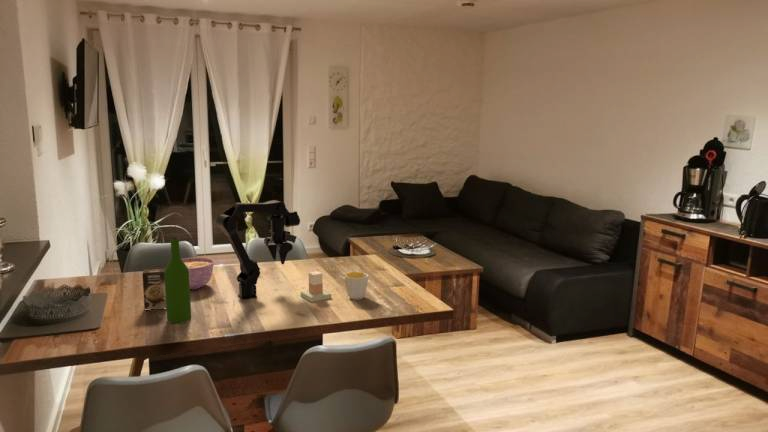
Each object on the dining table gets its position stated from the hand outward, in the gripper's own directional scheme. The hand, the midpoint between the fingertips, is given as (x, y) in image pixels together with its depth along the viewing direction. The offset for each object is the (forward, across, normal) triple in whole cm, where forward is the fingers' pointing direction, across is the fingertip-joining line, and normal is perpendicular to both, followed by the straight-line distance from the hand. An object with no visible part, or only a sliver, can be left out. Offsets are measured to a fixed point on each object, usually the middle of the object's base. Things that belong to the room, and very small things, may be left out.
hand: (278, 261), depth 267 cm
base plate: (+13, -19, -9) cm, 25 cm away
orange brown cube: (+11, -19, -9) cm, 24 cm away
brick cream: (+6, -19, -9) cm, 22 cm away
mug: (+13, -28, -24) cm, 39 cm away
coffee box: (+13, +4, +53) cm, 55 cm away
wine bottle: (+13, -15, +49) cm, 53 cm away
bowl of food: (+13, +25, +32) cm, 43 cm away
